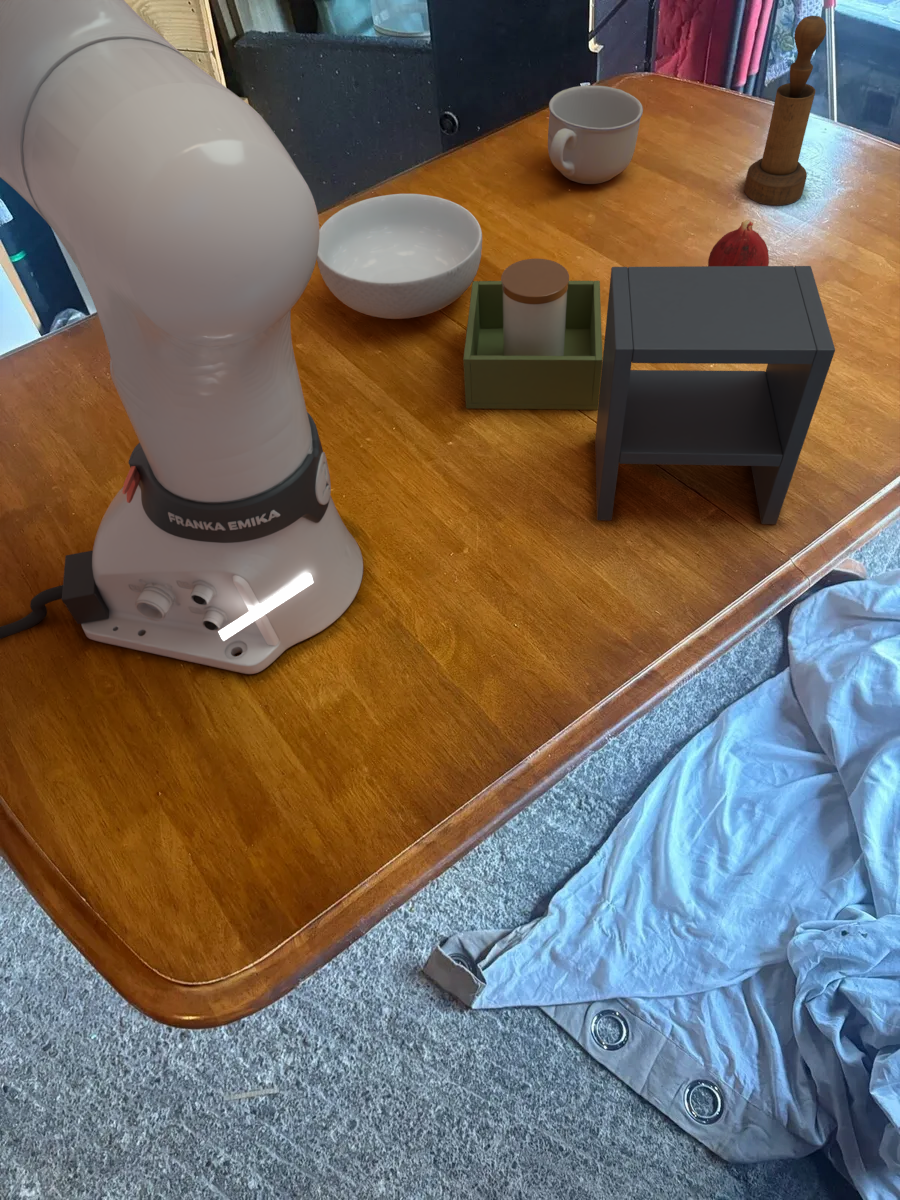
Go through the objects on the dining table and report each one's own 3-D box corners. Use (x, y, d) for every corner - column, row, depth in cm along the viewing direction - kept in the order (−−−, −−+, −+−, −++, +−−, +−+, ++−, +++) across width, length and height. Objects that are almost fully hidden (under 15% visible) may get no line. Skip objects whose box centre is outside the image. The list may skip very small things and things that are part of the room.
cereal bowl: (357, 362, 88) (346, 300, 83) (304, 279, 98) (292, 218, 92) (510, 314, 92) (510, 251, 86) (445, 238, 102) (441, 177, 96)
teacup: (587, 142, 114) (591, 75, 107) (654, 170, 108) (663, 100, 102) (510, 184, 108) (510, 115, 102) (576, 215, 103) (580, 144, 97)
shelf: (597, 520, 74) (615, 349, 60) (595, 438, 80) (611, 266, 66) (776, 524, 72) (835, 349, 59) (760, 441, 78) (811, 265, 65)
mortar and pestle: (734, 197, 104) (769, 23, 89) (756, 172, 107) (794, 0, 93) (789, 211, 101) (834, 34, 87) (811, 185, 104) (857, 11, 90)
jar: (500, 382, 84) (499, 296, 77) (503, 343, 88) (502, 258, 81) (564, 382, 84) (569, 296, 77) (564, 343, 87) (569, 257, 80)
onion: (760, 314, 90) (778, 240, 83) (701, 310, 90) (715, 237, 84) (759, 281, 93) (777, 208, 87) (703, 278, 94) (716, 205, 88)
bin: (465, 408, 83) (463, 359, 79) (474, 330, 91) (472, 280, 86) (597, 410, 82) (602, 359, 78) (595, 330, 89) (599, 280, 85)
